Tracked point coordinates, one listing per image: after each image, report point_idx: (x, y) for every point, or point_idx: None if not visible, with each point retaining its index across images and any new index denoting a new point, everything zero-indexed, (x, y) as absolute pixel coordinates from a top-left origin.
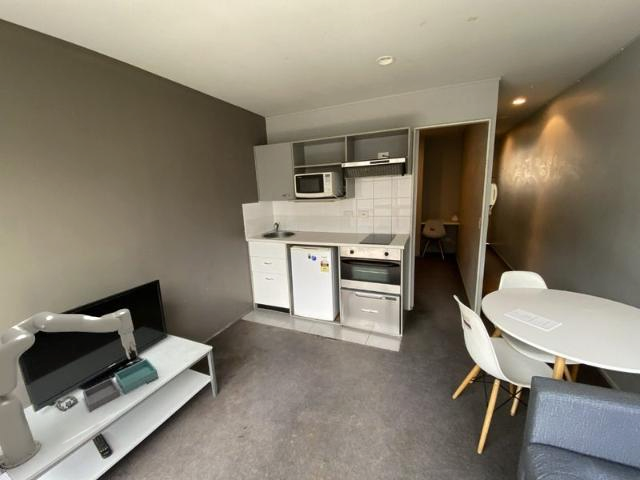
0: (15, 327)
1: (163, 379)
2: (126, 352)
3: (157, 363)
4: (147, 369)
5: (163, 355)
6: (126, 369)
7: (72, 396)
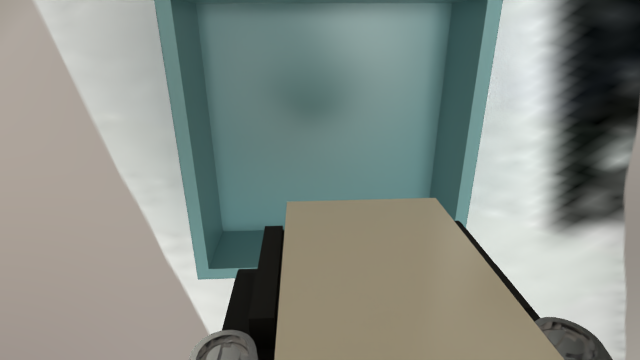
0: None
1: (168, 249)
2: (436, 261)
3: None
4: None
5: None
6: (470, 97)
7: None
